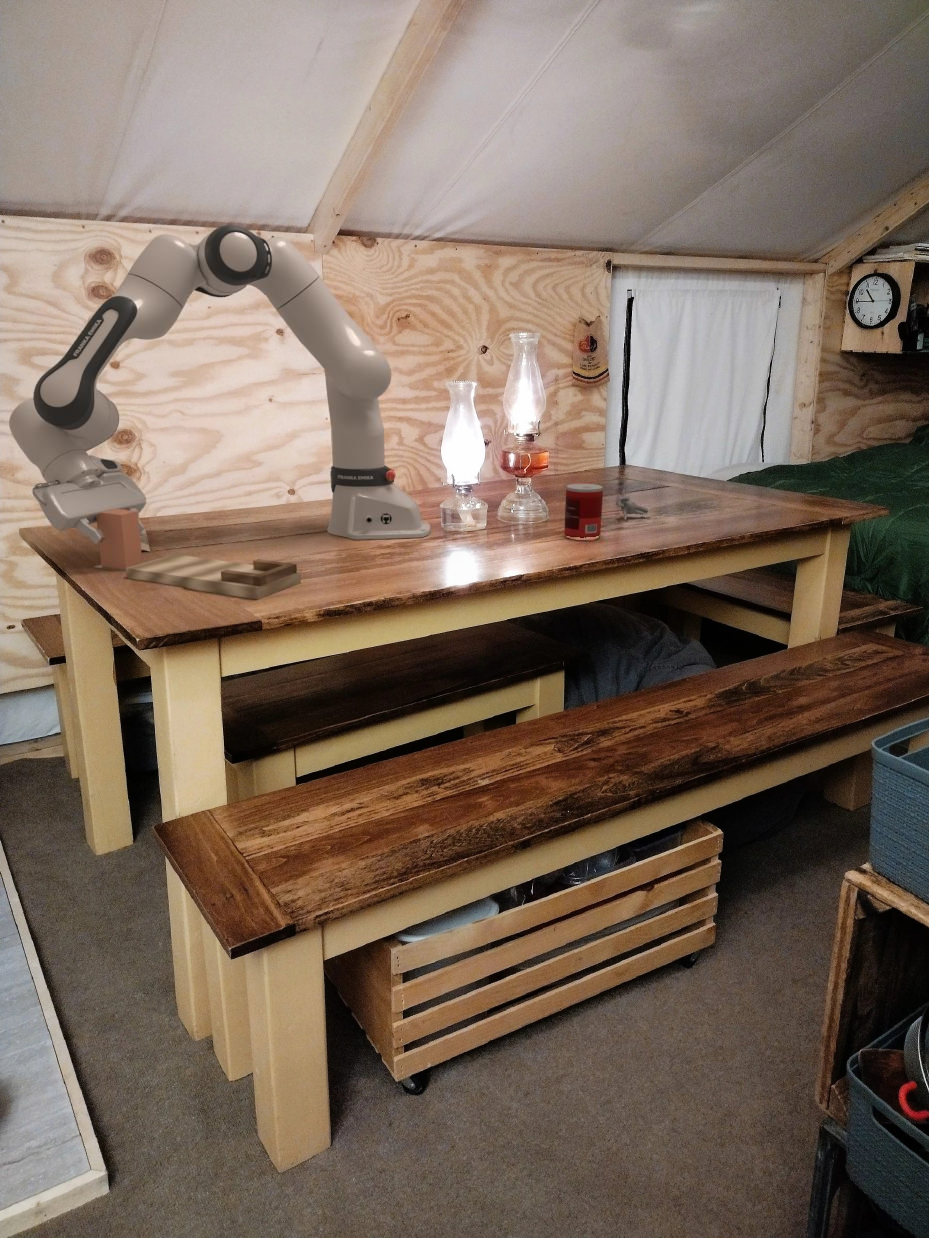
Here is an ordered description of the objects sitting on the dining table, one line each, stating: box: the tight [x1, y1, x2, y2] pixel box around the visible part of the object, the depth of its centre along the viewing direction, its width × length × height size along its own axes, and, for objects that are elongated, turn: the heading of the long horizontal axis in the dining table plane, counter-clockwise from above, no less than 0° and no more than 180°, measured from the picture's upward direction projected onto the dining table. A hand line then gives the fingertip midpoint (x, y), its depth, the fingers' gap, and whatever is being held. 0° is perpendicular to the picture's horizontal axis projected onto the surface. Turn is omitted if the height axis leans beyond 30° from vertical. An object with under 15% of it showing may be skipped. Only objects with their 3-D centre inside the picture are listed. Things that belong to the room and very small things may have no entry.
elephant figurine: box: [615, 488, 650, 518], centre depth 219 cm, size 10×6×9 cm
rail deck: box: [125, 553, 302, 600], centre depth 160 cm, size 28×12×4 cm, turn 65°
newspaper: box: [140, 527, 151, 553], centre depth 189 cm, size 24×7×2 cm, turn 21°
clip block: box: [96, 509, 143, 570], centre depth 167 cm, size 6×4×10 cm, turn 65°
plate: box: [93, 564, 126, 573], centre depth 168 cm, size 8×6×1 cm
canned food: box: [563, 483, 604, 538], centre depth 197 cm, size 8×8×11 cm
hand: (120, 536), depth 167 cm, fingers open, 8 cm apart
